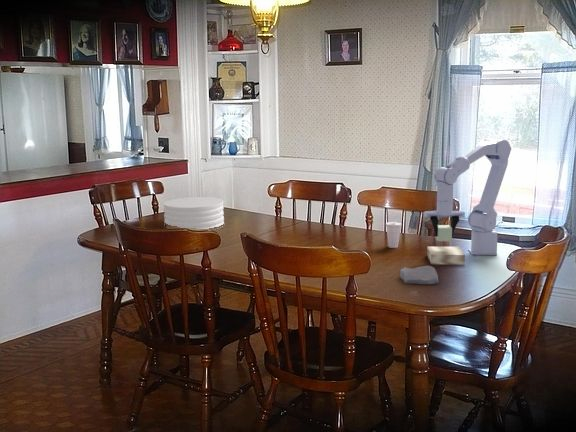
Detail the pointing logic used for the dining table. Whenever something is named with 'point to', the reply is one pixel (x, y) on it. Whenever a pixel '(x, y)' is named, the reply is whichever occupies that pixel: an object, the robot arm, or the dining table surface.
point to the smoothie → (393, 233)
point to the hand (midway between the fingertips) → (443, 235)
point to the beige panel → (445, 255)
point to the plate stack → (194, 212)
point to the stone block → (419, 275)
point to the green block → (444, 233)
